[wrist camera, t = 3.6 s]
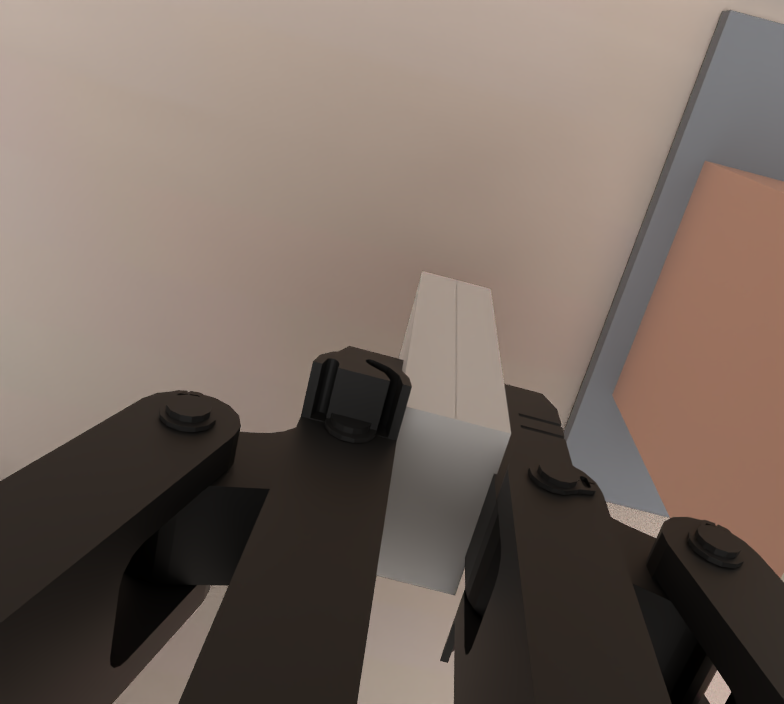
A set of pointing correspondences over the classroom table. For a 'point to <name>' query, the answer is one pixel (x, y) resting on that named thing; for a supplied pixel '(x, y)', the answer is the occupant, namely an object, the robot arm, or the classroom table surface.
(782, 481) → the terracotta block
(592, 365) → the slate mat
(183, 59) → the classroom table surface
